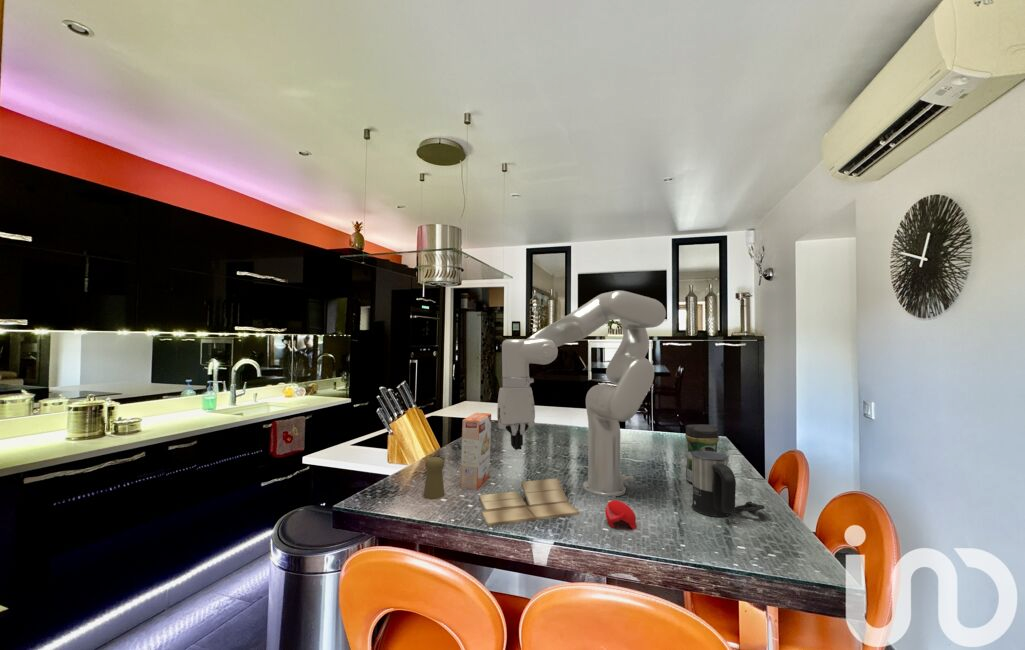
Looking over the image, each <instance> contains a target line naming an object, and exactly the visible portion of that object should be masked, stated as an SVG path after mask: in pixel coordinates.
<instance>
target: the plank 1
mask: <svg viewBox="0 0 1025 650" xmlns="http://www.w3.org/2000/svg"><path fill="white" fill-rule="evenodd" d="M478 501H479V502H480V504H481V506H482V507H483V509H484V511H487V510H495V509H504V508H513V507H521V506H527V503H526V502H525V501H524V498H522V497H521V495H520V493H519V492H518V491H509V492H498V493H487V494H479V495H478Z"/></svg>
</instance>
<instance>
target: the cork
mask: <svg viewBox="0 0 1025 650" xmlns="http://www.w3.org/2000/svg"><path fill="white" fill-rule="evenodd" d="M424 464H425V465H424V466H425V469H426V475H425V482H424V489H423V498H424V499H428V500H437V499H441V498H443V497H444V496H445V486H444V485H445V484H444V478H443V477H444V476H443V469H444V466H445V461H444V459H443V458H442V457H439V456H433V457H432V456H431V457H429V458H427V459H426V461H425V463H424Z"/></svg>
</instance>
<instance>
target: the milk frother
mask: <svg viewBox="0 0 1025 650" xmlns="http://www.w3.org/2000/svg"><path fill="white" fill-rule="evenodd" d="M691 455H692V480H693V484H692V504H691V508H692V509H693V511H695V512H697V513H699V514H702V515H706V516H710V517H723V518H724V517H727V516H729V515H730V514H734V513H740V512H741V513H742V512H748V513H754V512H757V511H761V510H764V509H766V508H765V505H764V504H757V503H755V502H752V501H745V503H744V504H742V505H736V489H737V488H736V487H737V486H736V485H737V483H736V481H737V480H736V476H735V474H734V472H733V470H732V469H731V467H729V466H728V459H729V455H727V454H724V453H721V452H718V451H717V452H713V451H692V452H691Z"/></svg>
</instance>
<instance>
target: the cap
mask: <svg viewBox="0 0 1025 650" xmlns="http://www.w3.org/2000/svg"><path fill="white" fill-rule="evenodd" d="M604 509H605V511H604V512H605V518H606V520H607V522H608V525H609V527H610V528H613V529H614V528H615V525H614V523H615V522H616V523H617V522H619V521H620V522H621V521H624V522H625V523H628V524H629V527H630V528H631V529H632V530H633V531H634V530H636V529H637V526H638V525H637V523H636V521H637V516H636V514H635V512H634V511H633V509H632V508H631V507H630V506H629V505H628V504H626V503H624V502H623V501H620V500H615V499H613V500H610V501H609V502H608V503H607V505H606V506H605V508H604Z"/></svg>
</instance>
